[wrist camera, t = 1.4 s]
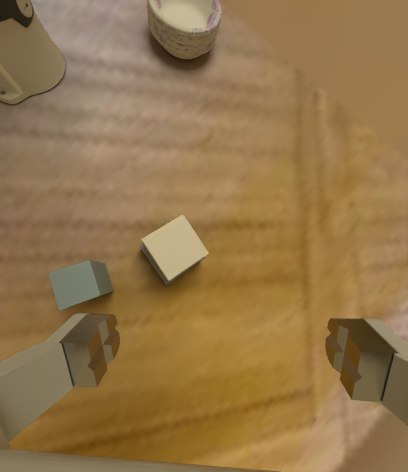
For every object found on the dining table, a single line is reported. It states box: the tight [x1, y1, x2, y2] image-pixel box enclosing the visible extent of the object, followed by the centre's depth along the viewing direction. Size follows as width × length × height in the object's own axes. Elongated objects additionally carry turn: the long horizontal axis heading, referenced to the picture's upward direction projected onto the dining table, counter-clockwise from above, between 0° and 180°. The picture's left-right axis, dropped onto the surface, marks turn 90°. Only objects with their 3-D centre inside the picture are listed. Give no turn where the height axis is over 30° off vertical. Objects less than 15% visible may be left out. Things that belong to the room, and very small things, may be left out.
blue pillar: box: [48, 260, 114, 311], centre depth 31 cm, size 5×5×9 cm
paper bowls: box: [147, 0, 222, 59], centre depth 45 cm, size 15×15×8 cm
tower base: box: [139, 242, 205, 286], centre depth 37 cm, size 8×8×5 cm
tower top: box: [142, 215, 209, 281], centre depth 33 cm, size 7×7×5 cm
